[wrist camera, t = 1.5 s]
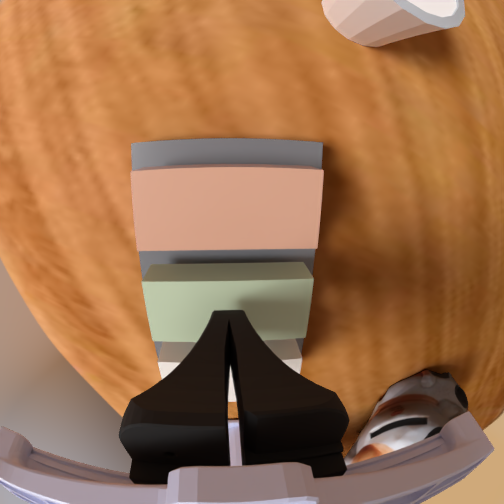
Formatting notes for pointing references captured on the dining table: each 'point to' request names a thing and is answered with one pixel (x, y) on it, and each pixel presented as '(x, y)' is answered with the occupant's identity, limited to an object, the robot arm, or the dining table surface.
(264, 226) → the terracotta button
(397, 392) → the lucky cat figurine
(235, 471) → the robot arm
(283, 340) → the off-white button
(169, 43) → the dining table surface
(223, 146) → the button panel
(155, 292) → the sage button
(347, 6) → the shot glass
